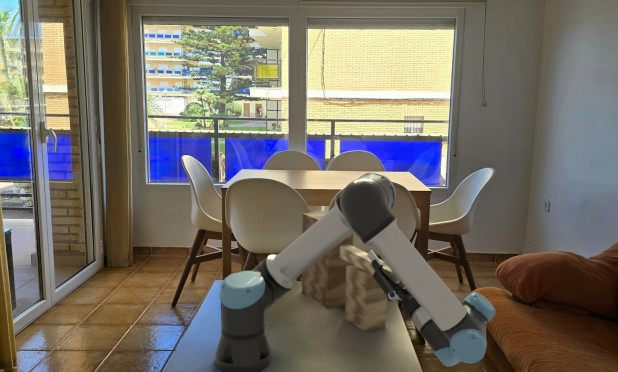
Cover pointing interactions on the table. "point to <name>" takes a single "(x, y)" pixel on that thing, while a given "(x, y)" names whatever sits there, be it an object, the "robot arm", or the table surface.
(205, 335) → the table surface
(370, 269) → the wooden block
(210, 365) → the table surface
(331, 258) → the stand
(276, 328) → the table surface
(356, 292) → the base pedestal
